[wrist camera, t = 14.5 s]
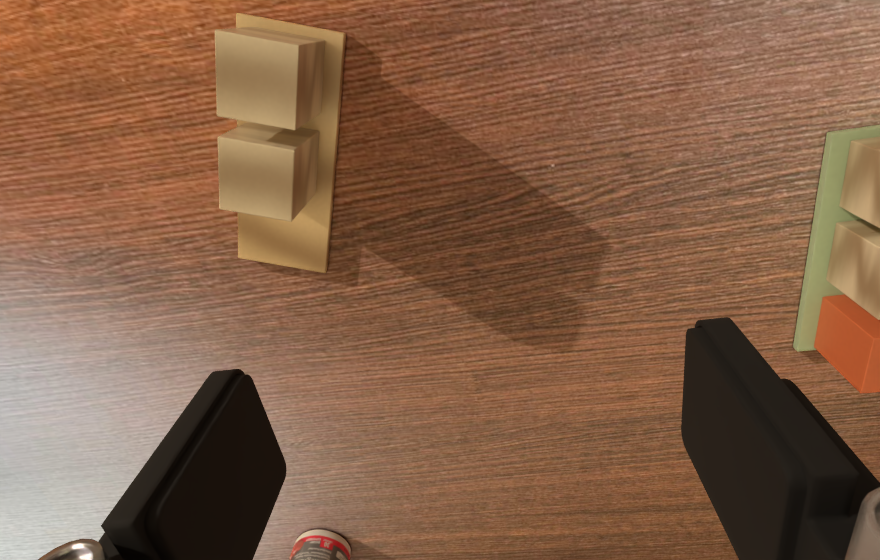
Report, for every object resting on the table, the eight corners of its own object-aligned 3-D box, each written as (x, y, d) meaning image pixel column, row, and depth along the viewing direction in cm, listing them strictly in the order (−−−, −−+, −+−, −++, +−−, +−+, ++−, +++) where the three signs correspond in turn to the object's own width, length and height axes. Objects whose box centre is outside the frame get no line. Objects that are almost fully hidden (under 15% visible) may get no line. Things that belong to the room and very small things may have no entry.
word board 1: (240, 12, 29) (192, 13, 24) (346, 32, 30) (321, 37, 25) (241, 254, 36) (204, 293, 31) (327, 269, 36) (304, 310, 31)
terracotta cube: (822, 296, 35) (873, 338, 30) (889, 289, 34) (951, 331, 30) (813, 346, 36) (860, 393, 32) (876, 340, 36) (933, 387, 31)
